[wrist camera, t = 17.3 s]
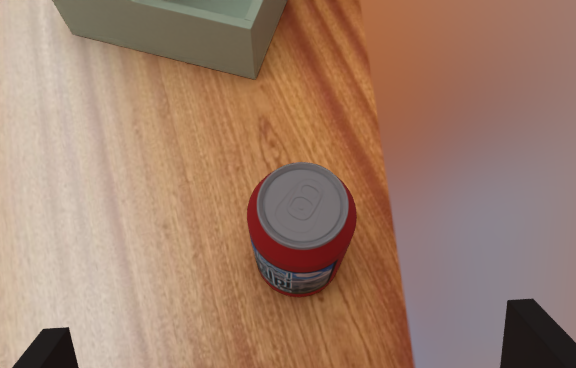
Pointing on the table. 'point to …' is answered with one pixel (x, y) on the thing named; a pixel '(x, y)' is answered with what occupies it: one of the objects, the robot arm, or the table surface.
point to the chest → (182, 29)
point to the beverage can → (300, 227)
